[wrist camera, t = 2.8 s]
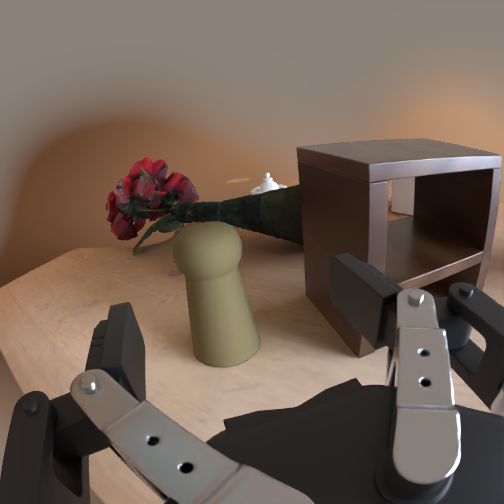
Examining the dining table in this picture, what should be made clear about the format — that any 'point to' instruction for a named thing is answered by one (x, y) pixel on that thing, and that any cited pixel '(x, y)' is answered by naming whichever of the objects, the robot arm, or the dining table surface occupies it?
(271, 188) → the ring around a ball
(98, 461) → the dining table surface
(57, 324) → the dining table surface
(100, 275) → the dining table surface
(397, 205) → the medicine bottle
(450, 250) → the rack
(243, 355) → the cork
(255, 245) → the dining table surface
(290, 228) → the carnation
